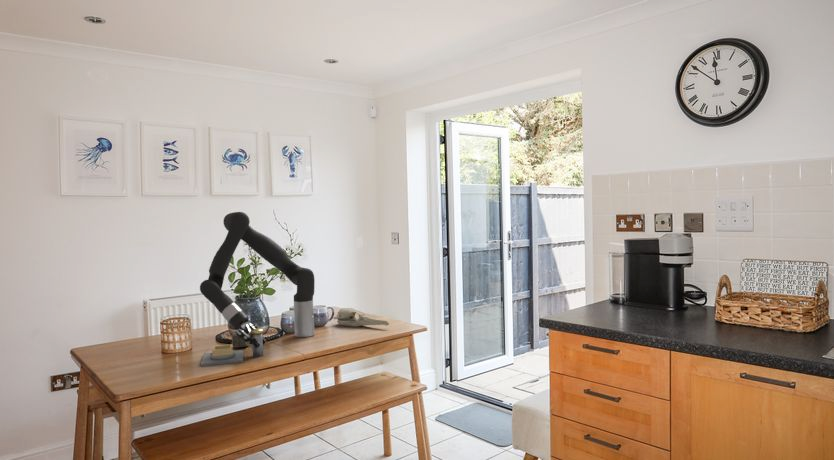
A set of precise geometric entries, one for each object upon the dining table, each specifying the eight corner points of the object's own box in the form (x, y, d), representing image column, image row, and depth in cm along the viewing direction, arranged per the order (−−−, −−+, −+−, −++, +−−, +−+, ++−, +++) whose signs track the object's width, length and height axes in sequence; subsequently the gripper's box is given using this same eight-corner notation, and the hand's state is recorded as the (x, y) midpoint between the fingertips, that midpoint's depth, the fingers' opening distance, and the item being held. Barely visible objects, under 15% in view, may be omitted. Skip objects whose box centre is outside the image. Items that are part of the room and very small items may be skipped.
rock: (226, 332, 253) (247, 324, 257) (230, 346, 254) (251, 338, 258) (230, 339, 238) (252, 330, 242) (235, 353, 238) (257, 344, 243)
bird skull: (386, 326, 269) (383, 306, 269) (334, 328, 284) (332, 310, 284) (394, 323, 276) (392, 304, 276) (343, 325, 292) (341, 307, 292)
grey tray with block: (243, 352, 235) (243, 340, 234) (242, 362, 219) (242, 350, 219) (204, 355, 230) (203, 344, 230) (200, 366, 215) (200, 354, 214)
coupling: (264, 353, 232) (263, 327, 231) (264, 356, 227) (263, 330, 226) (251, 354, 230) (250, 328, 230) (251, 357, 225) (250, 331, 225)
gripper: (231, 313, 223) (258, 343, 220) (249, 306, 236) (275, 335, 234) (220, 325, 224) (247, 355, 222) (239, 318, 238) (264, 346, 236)
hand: (261, 344), depth 228 cm, fingers closed on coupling, 4 cm apart
